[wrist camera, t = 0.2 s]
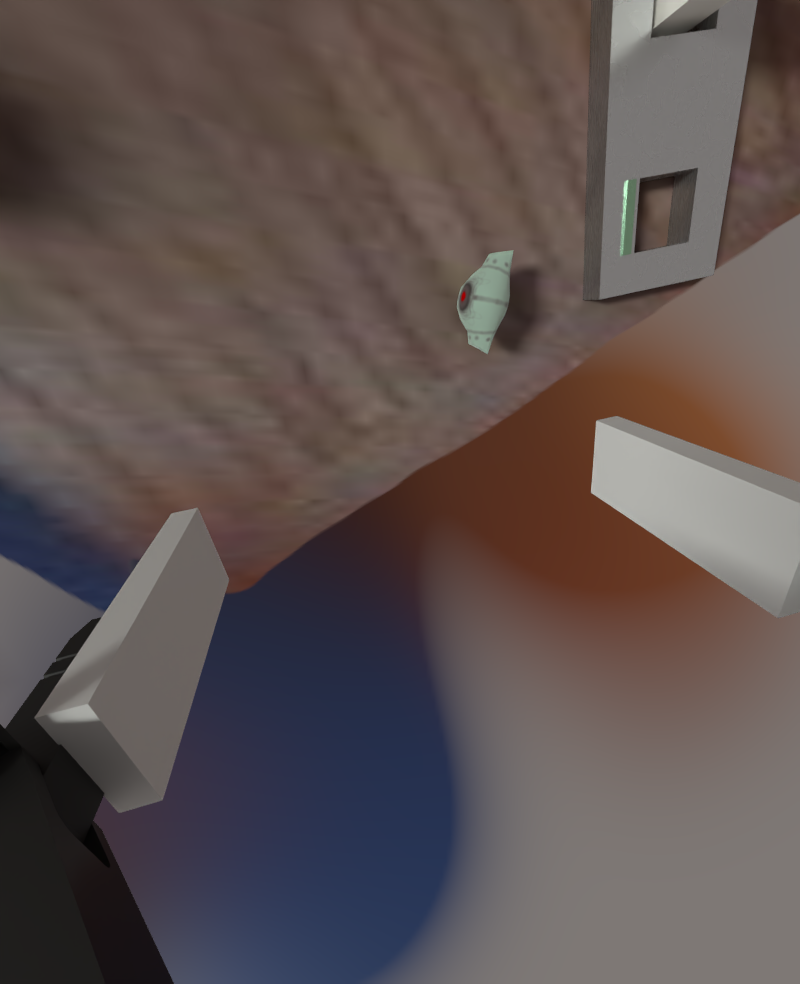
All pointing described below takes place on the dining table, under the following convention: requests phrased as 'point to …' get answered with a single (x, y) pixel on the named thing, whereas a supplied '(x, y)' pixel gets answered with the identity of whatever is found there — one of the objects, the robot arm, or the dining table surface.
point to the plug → (681, 15)
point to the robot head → (486, 299)
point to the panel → (660, 140)
